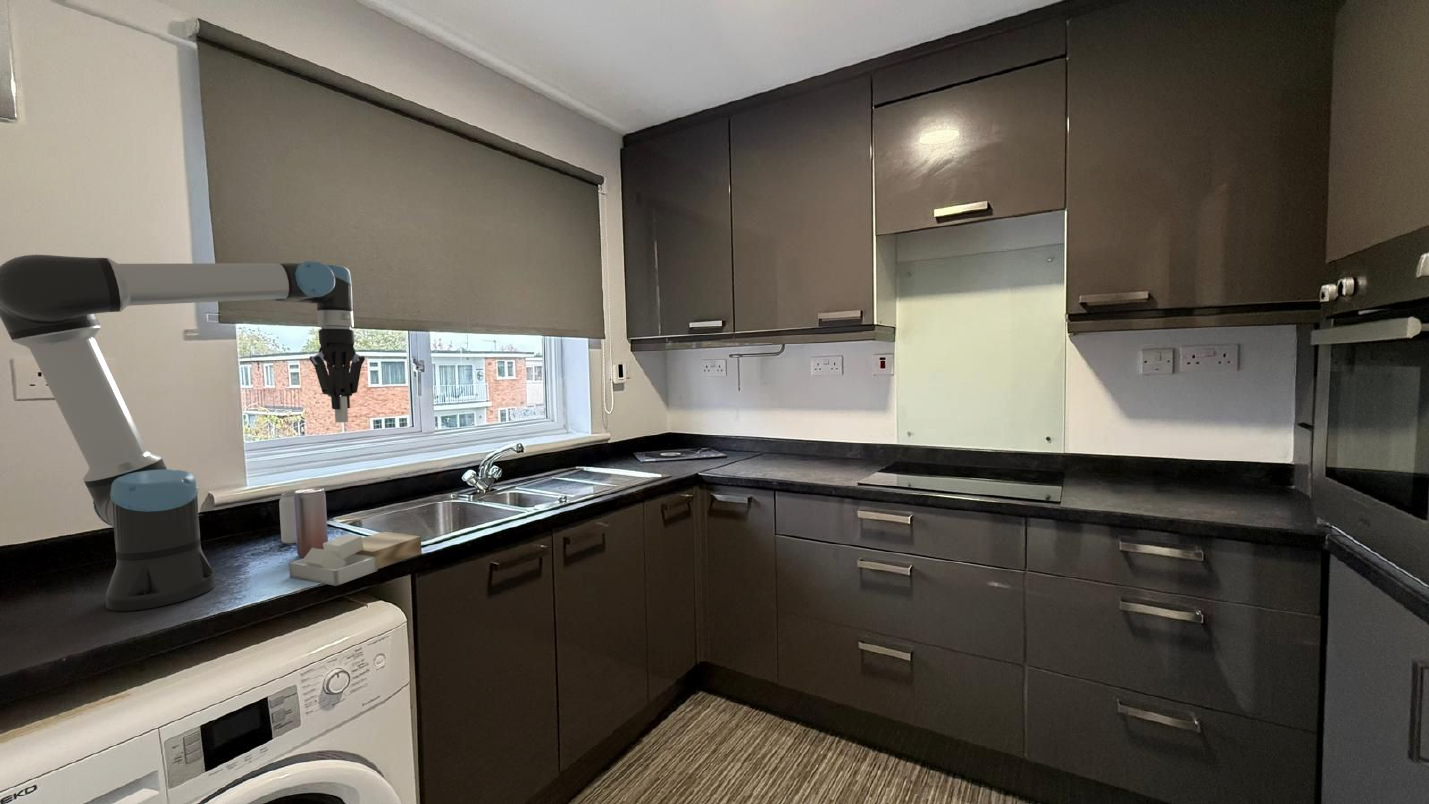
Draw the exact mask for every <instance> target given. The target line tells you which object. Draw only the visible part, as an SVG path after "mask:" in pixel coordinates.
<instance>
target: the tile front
mask: <svg viewBox="0 0 1429 804" xmlns="http://www.w3.org/2000/svg"><path fill="white" fill-rule="evenodd" d="M302 559H303V560H302V562H304V563H305V564H307V565H312V566H318V567H324V568H330V569H335V570H336V569H339V568H342V567H343V566H344V564H345V563H346V562H345V561H344V560H342V559H341V558H339V557H338V556H336V555H335V554H333V553H332V552H330V551H329V550H323V549H316V548H311V550H310V551H309V552H308V554H307V555H306V556H305V558H302Z"/></svg>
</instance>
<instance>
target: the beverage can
mask: <svg viewBox="0 0 1429 804" xmlns="http://www.w3.org/2000/svg"><path fill="white" fill-rule="evenodd" d="M294 492H295V496H294V506H295V523H296V541H297V543H296V554H297V555H298V557H300V558H302V559H304V558H305V556H306V555H307V554H308V552H309V551H310V550H311V548H316V549H323V550H324V547H323V543H325V542H328V541H329V536H328V535H329V534H328V517H327V501H326V492H325V488H324V487H314V488H313V487H309V488H304V489H298V490H295V491H294Z"/></svg>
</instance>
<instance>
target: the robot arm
mask: <svg viewBox="0 0 1429 804" xmlns="http://www.w3.org/2000/svg"><path fill="white" fill-rule="evenodd" d="M352 288H353V284H352V277H351V272H350V270H349V268H347V267H345V266H341V265H335V264H334V265H333V264H331V265H330V264H325V263H322V262H320V261H309V260H308V261H303V262H299V263H298V262H297V263H293V262H292V263H290V262H289V263H288V262H287V263H275V262H274V263H273V262H271V263H269V262H267V263H265V262H264V263H263V262H261V263H256V262H255V263H247V262H246V263H244V262H243V263H242V262H241V263H238V262H235V263H233V262H232V263H231V262H229V263H226V262H225V263H218V262H217V263H214V262H213V263H212V262H211V263H208V262H207V263H196V262H195V263H118V262H116V261H114V260H112V259H111V258H109V257H86V256H85V257H84V256H83V257H82V256H80V257H79V256H65V255H64V256H63V255H52V254H51V255H50V254H27V255H22V256H17V257H13V258H11V259H9V260H6V261H5V262H4V263H2V264H1V265H0V320H1V321H2V324H3V326H4V327H5V329H6V331H7V333H8V335H9V337H10V339H11V342H13V343H16V344H18V345H21V346H23V347H26V348H27V349H29V350H30V353H31V355H32V356H33V358H34V360H35V363H36V365H37V366H38V368H39V371H40V372H41V374H42V376H43V379H44V381H45V382H46V384H47V386H48V389H49V390H50V393H51V394H52V396H53V398H54V400H55V402H56V404H57V405H58V408H59V409H60V412H61V414H62V416H63V418H64V420H65V422H66V424H67V426H68V428H69V429H70V431H71V434H72V436H73V437H74V440H75V441H76V443H77V446H78V448H79V450H80V451H81V453H82V456H83V457H84V460H85V462H86V464H87V465H88V471H87V473H86V474H85V475H84V477H83V478H82V481H83V483H84V484H85V486H86V488H87V490H88V492H89V495H90V496H91V499H92V500H93V501H92V504H93V510H94V512H95V514H96V515H97V517H98V518H99V520H101V521H102V522H103V523H105V524H106V525H108V526H109V527H112V528H113V532H114V544H115V545H114V546H115V556H116V557H115V558H116V565H115V567H114V569H113V573H112V575H111V577H110V578H111V579H110V581H109V584H108V587H107V590H106V593H105V606H106V609H108V610H110V611H117V612H127V611H128V612H129V611H130V612H131V611H141V610H148V609H153V608H159V607H162V606H163V607H164V606H167V605H172V604H177V603H179V602H180V603H181V602H183V601H187V600H190V599H193V598H196V597H199V596H201V595H203V594H205V593H207V592H209V591H211V590H212V589H213V588H214V587H216V581H215V573H214V570H213V569H212V567H211V565H210V563H209V562H208V559H207V557H206V556H205V554H204V552H203V550H202V547H201V546H202V545H201V532H200V531H201V530H200V519H199V517H200V515H199V503H198V502H199V501H198V494H199V488H198V484H197V480H196V477H195V476H194V475H193V474H192V473H190V472H188V471H186V470H181V469H175V470H173V469H168V468H167V466H166V464H165V461H164V460H163V458H162V456H161V455H158V454H155V453H152V452H150V451H148V449H147V447H146V444H145V441H143V438H142V436H141V434H140V432H139V430H138V428H137V425H136V423H135V421H134V419H133V417H132V415H131V412H130V411H129V408H128V406H127V404H126V402H125V400H124V398H123V396H122V394H121V392H120V389H119V387H118V385H117V383H116V381H115V379H114V378H115V377H113V375H112V372H111V371H110V368H109V365H108V363H107V361H106V359H105V358H104V355H103V353H102V351H101V348H100V346H99V344H98V342H97V340H96V335H97V334H98V332H99V331H100V329H101V324H100V322H99V320H98V317H97V314H103V313H104V314H105V313H119V312H120V313H121V312H122V311H124V310H125V309H126V308H127V307H130V306H151V305H170V304H171V305H173V304H174V305H175V304H190V303H191V304H192V303H194V304H195V303H197V304H198V303H213V302H214V303H215V302H216V303H217V302H236V301H237V302H239V301H259V300H260V301H261V300H264V301H269V302H270V301H272V302H274V303H277V302H283V303H304V304H305V303H306V304H307V303H308V304H316V306H317V307H316V311H317V326H318V327H319V328H320V329H319V330H318V342H319V344H320V347H319V350H318V353H317V354H314V355H313V356H312V355H311V356H309V361H310V363H311V364H312V365H313V367H314V370H315V374H316V376H317V379H318V383H319V386H320V389H321V393H322V394H323V395H326V396H328V397H329V398H331V399H330V400H331V409H332V410H334V417H335V418H334V421H335V422H334V423H349V412H348V411H349V410H348V409H350V408H351V399H350V397H352V396H353V394H357V392H358V388H359V382H360V379H361V378H360V377H361V373H362V372H361V371H362V365H363V363H364V362H365V360H366V357H365V356H362V355H359V354H357V353H356V351H357V350H356V349H355V347H354V345H355V343H356V342H355V341H356V340H355V331H354V330H353V329H352V328H354V312H353V291H352V290H353V289H352Z"/></svg>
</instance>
